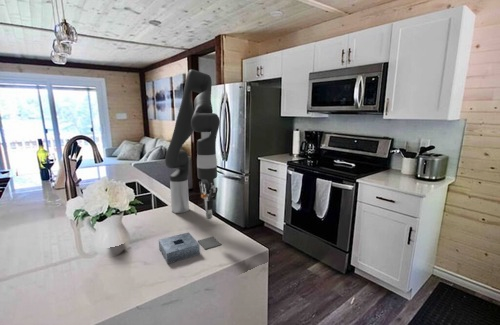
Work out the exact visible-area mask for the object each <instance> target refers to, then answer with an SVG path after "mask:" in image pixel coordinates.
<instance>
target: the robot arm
mask: <svg viewBox="0 0 500 325" xmlns="http://www.w3.org/2000/svg"><path fill="white" fill-rule="evenodd" d="M211 77H212V76H210V75H209V74H207V73H205V72H203V71H199V70H196V69H189V70H188V71H187V74H186V77H185V81H184V82H185V83H184V88H183V92H182V99H181V103H180V106H179V110H178V112H177V113H178V114H177V117H176V121H175V125H174V130H173V132H172V136H171V139H170V142H169V145H168V147H167V150H166V153H165V157H164V161H165V166H166V167H167V168H169V169H175V171H173V172H172V173H171V174H170V175H169V185H170V187H169V190H170V203H171V212H172V213H175V214H183V213H186V212H188V211H190V202H189V200H190V199H189V181H188V179H189V178H188V177H189V171H190V169H189V168H190V167H189V165H190V162H189V154H188V152H187V151H186V150H184V149H182V147H183V145H184V144H185V143H186V141H188V139H189V138H190V137H191V136H192V135H193V132H196V133H209V135H208V136H207V137H202V138H199V139H197V140H196V141H197V142H196V151H197V153H196V154H197V156H196V171H197V172H196V173H197V178H198V179H199V180H200V181H199V182H198V185H199V191H200V195H201V194H204V191H205V195H206V197H207V209H208V210H212V211H213V209H214V201H216V199H217V194H218V189H219V188H218V187H215V182H214V181H215V179H217V177H218V167H217V166H218V161H217V160H218V159H217V153H216V152H217V151H216V147H217V146H216V145H217V144H216V143H217V136H218V131H219V129H220V128H219V127H220V125H221V124H220V123H221V122H220V120H221V119H220V117H219V115H218V114H217V113H213V105H212V82H213V81H212V78H211ZM192 92H194V93H198V95H196V97H195V98H194V101H193V103H192V99H191V96H192V95H191V93H192ZM207 192H209V193H207ZM203 207H204V208H205V199H204V198H203Z"/></svg>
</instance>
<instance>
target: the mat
mask: <svg viewBox="0 0 500 325" xmlns="http://www.w3.org/2000/svg"><path fill="white" fill-rule="evenodd" d="M197 242H198V243H199V246H201V247H202V248H203V249H204V250H209V249H213V248H216V247H220V246H222V243H221V242H220V241H219V240H218V239H216V237H215V236H210V237H206V238H202V239H198V240H197Z"/></svg>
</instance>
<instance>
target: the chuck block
mask: <svg viewBox="0 0 500 325" xmlns="http://www.w3.org/2000/svg"><path fill="white" fill-rule="evenodd" d="M158 249H159V251H160V253H161V254H162V256H163V259H164V260H165V262H166V264H167V265H168V264H169V265H170V264H171V263H175V262H178V261H181V260H186V259H188V258H191V257H192V258H193V257H196V256H198V255H200V253H201V251H200V250H201V249H200V243H199V242H198V240H196V238H194V237H193V235H192V234H191V233H190V232H185V233H179V234H177V235H173V236H168V237H164V238H161V239H160V238H159V239H158Z"/></svg>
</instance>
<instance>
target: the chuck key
mask: <svg viewBox="0 0 500 325" xmlns="http://www.w3.org/2000/svg"><path fill="white" fill-rule="evenodd" d="M207 193H209V192H207ZM200 198H201V199H203V200H204V199H205V207H204V210H205V217H206V220H211V219H213V209H212V210H208V209H207V197H206V195H205V191H204V194H201V193H200Z"/></svg>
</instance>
